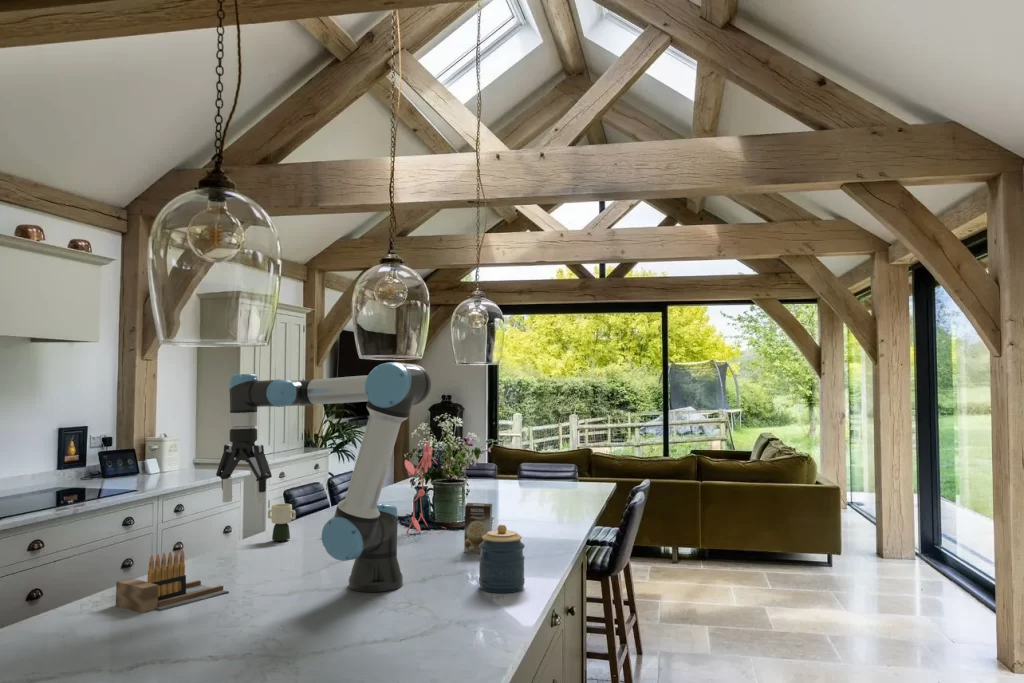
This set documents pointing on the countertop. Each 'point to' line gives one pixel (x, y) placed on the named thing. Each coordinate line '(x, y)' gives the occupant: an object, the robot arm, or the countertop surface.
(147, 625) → the countertop surface
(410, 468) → the figurine
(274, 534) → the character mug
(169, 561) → the ammunition clip
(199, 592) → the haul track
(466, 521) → the coffee box
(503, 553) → the canister
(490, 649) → the countertop surface
